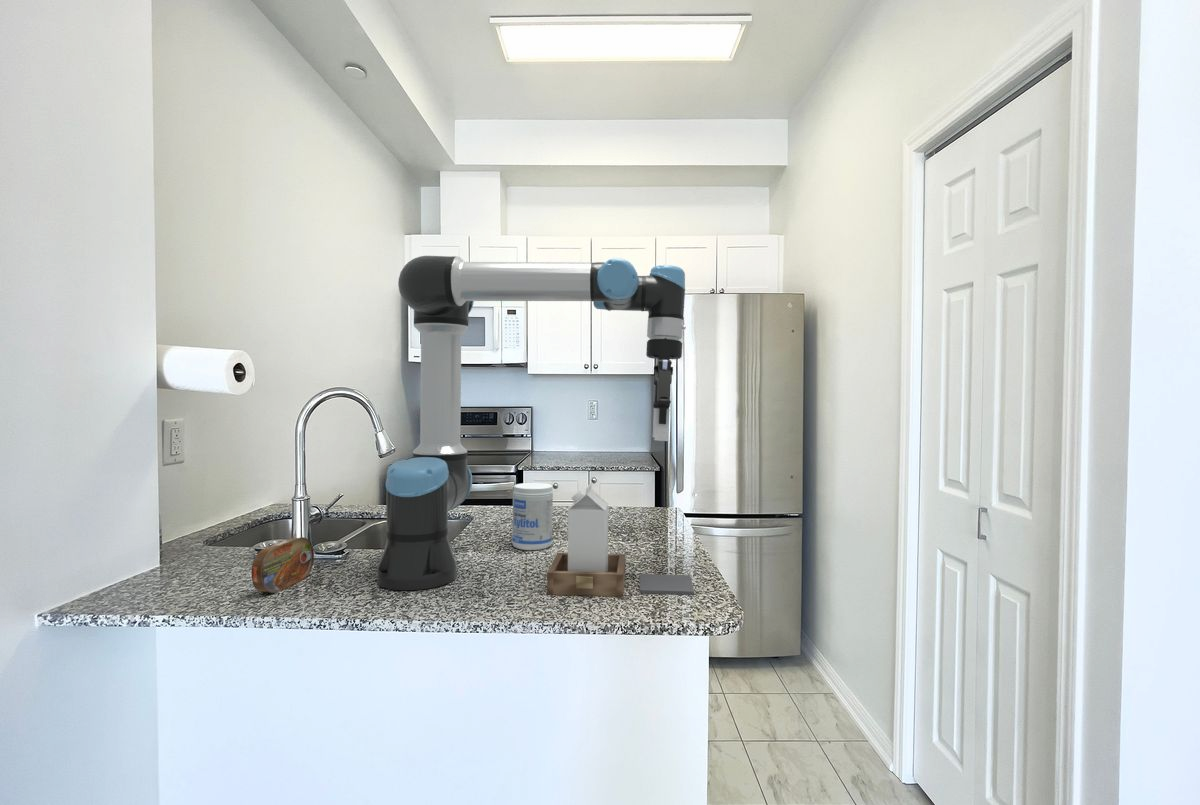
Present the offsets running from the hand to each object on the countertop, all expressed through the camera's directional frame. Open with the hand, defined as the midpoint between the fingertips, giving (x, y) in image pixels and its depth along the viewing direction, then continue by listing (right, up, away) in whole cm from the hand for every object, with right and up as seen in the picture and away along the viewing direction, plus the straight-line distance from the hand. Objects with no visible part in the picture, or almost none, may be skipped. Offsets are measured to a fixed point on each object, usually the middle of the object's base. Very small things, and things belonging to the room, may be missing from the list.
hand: (659, 439), depth 129 cm
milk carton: (-15, -28, -11) cm, 33 cm away
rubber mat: (0, -27, -12) cm, 30 cm away
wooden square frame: (-15, -27, -11) cm, 33 cm away
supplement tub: (-29, -27, +17) cm, 43 cm away
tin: (-73, -27, -13) cm, 79 cm away
